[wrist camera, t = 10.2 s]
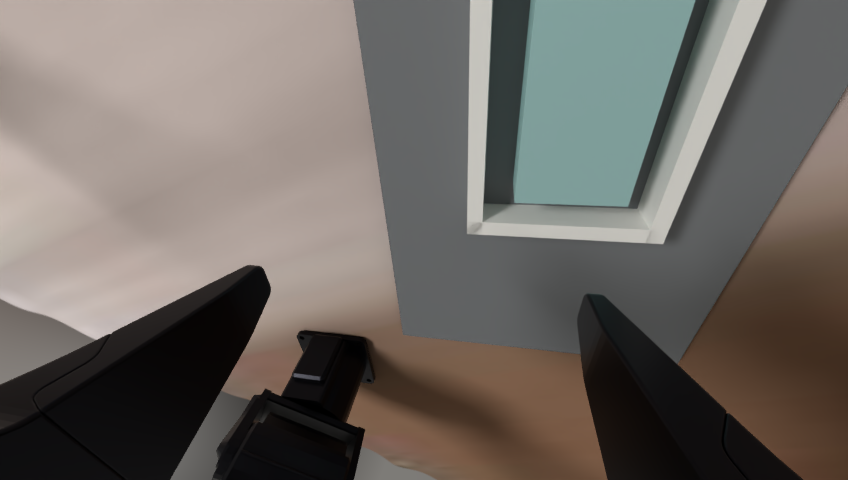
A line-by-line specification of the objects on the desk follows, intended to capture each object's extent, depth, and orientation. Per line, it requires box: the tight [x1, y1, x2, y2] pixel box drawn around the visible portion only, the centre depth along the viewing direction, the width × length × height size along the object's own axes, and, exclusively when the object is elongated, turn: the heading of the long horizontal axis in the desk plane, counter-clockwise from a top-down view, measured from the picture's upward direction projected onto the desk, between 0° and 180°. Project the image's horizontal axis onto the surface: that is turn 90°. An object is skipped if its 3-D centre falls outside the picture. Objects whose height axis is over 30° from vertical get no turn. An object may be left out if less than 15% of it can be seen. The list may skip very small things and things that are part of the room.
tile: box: [513, 0, 695, 207], centre depth 14 cm, size 10×5×2 cm, turn 4°
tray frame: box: [467, 0, 767, 244], centre depth 14 cm, size 15×10×2 cm, turn 4°
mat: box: [353, 0, 848, 364], centre depth 18 cm, size 28×20×1 cm
